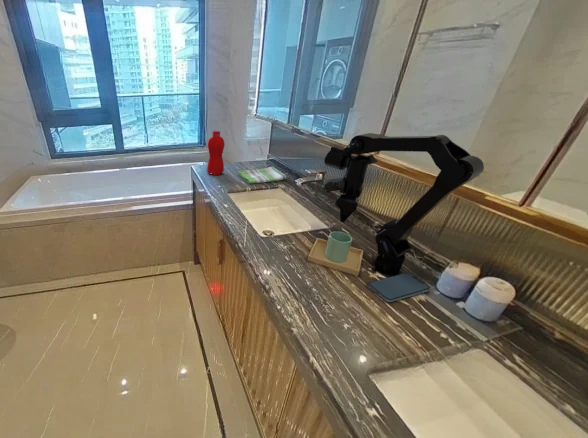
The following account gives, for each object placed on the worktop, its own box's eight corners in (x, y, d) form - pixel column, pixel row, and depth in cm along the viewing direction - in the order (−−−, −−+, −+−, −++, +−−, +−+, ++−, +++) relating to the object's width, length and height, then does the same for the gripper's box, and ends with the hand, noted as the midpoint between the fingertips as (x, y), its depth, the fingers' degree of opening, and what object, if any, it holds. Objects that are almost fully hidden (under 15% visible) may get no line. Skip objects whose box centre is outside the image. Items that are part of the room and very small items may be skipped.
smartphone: (367, 282, 83) (407, 271, 86) (365, 286, 84) (406, 275, 87) (389, 300, 77) (431, 287, 80) (387, 304, 78) (429, 292, 81)
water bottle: (225, 170, 176) (227, 129, 164) (220, 176, 167) (221, 133, 155) (211, 169, 179) (212, 128, 167) (205, 174, 170) (205, 132, 158)
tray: (362, 254, 97) (363, 250, 96) (357, 276, 88) (359, 271, 87) (316, 242, 105) (317, 237, 104) (307, 260, 95) (308, 256, 94)
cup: (347, 254, 97) (353, 234, 93) (344, 265, 92) (350, 244, 88) (326, 248, 100) (331, 229, 96) (322, 258, 95) (327, 238, 91)
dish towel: (286, 180, 160) (287, 174, 159) (249, 184, 155) (249, 178, 153) (272, 171, 175) (272, 165, 173) (237, 174, 170) (237, 169, 168)
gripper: (333, 162, 102) (325, 201, 109) (323, 178, 88) (313, 221, 96) (368, 167, 97) (357, 208, 104) (363, 184, 83) (350, 230, 90)
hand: (344, 216), depth 99 cm, fingers open, 9 cm apart
